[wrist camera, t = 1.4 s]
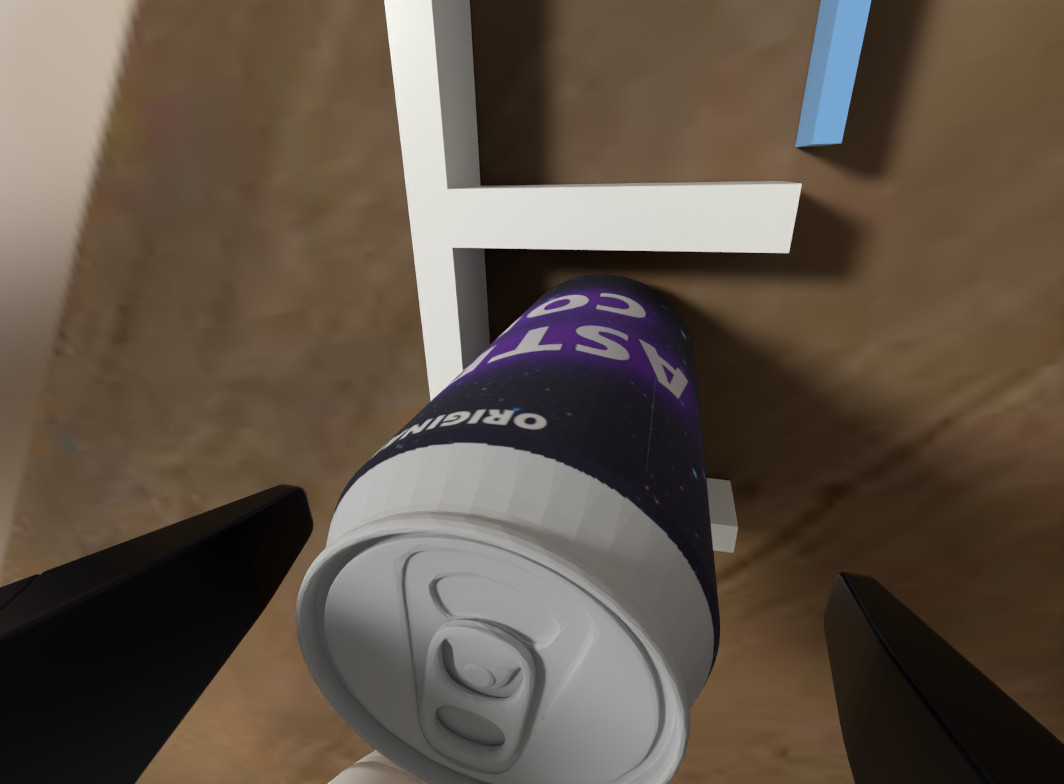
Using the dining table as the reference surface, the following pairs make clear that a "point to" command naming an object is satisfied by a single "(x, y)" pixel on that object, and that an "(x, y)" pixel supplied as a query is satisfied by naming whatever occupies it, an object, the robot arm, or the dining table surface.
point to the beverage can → (531, 558)
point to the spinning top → (375, 772)
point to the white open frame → (571, 189)
